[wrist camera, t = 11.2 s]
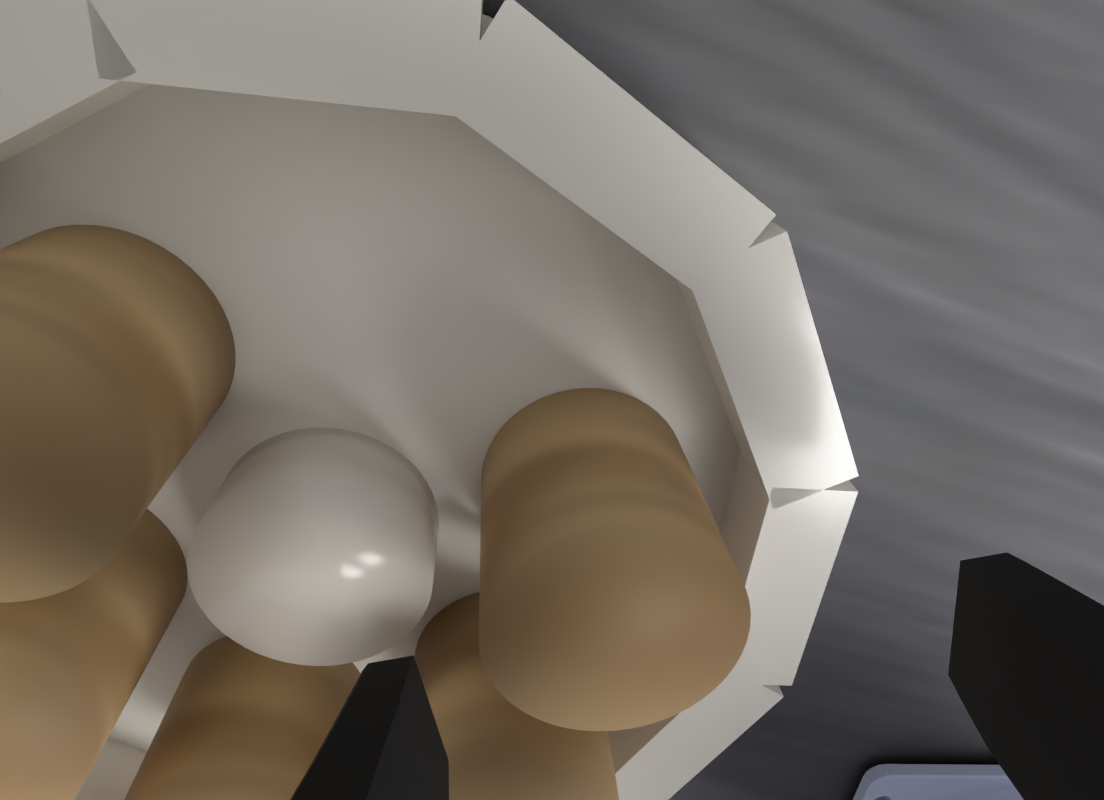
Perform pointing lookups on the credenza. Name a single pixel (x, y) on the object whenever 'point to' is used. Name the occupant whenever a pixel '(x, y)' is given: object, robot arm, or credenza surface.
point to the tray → (423, 316)
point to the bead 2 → (501, 726)
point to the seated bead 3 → (241, 727)
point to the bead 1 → (602, 567)
